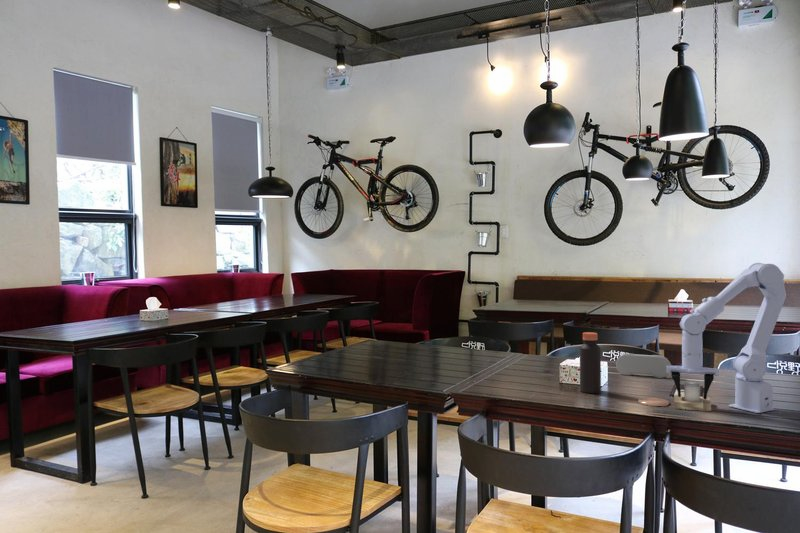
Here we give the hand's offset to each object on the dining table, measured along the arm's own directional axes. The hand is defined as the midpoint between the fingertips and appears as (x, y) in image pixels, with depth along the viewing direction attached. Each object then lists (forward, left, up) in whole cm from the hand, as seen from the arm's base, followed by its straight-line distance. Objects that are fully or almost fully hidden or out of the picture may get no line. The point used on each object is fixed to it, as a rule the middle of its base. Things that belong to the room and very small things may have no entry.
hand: (692, 397), depth 191 cm
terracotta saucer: (+9, +7, -3) cm, 11 cm away
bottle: (+30, +12, -3) cm, 33 cm away
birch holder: (0, 0, -3) cm, 3 cm away
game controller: (+38, -23, -3) cm, 44 cm away
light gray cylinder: (0, 0, -3) cm, 3 cm away
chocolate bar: (+13, -15, -3) cm, 20 cm away
